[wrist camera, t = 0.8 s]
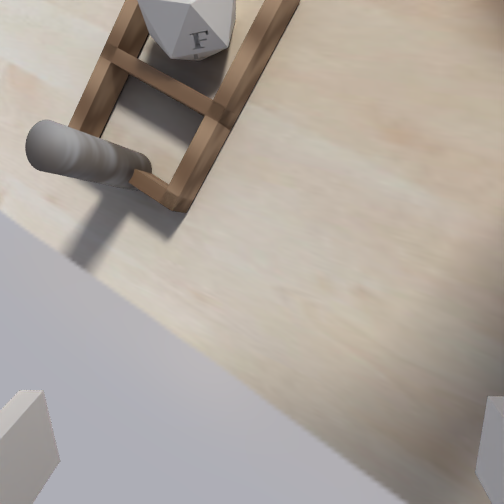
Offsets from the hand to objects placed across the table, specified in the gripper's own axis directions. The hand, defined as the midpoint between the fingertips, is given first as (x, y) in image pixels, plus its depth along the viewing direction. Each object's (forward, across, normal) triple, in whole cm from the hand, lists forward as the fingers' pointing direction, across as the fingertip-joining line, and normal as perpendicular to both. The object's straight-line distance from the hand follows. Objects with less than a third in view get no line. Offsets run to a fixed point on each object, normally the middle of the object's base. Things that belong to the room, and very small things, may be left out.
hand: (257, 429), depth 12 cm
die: (+35, -6, +17) cm, 40 cm away
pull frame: (+34, -10, +12) cm, 38 cm away
